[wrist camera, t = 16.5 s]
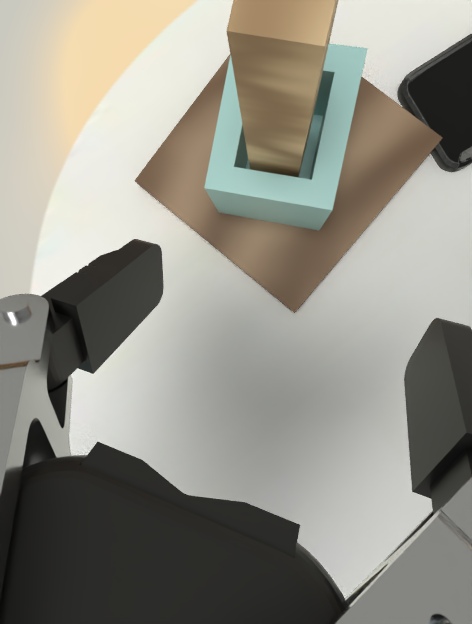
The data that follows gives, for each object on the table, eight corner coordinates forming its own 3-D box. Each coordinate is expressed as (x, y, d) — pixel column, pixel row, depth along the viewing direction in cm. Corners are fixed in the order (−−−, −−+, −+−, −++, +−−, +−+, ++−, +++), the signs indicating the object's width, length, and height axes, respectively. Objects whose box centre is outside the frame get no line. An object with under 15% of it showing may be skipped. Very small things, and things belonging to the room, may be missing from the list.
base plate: (435, 144, 25) (442, 137, 24) (293, 312, 26) (294, 312, 25) (267, 16, 26) (266, 5, 25) (139, 185, 27) (134, 180, 26)
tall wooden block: (309, 132, 24) (362, -113, 10) (294, 195, 24) (324, 46, 10) (267, 124, 24) (260, -123, 10) (253, 187, 24) (226, 30, 10)
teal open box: (346, 105, 24) (367, 48, 19) (319, 230, 25) (332, 210, 19) (243, 90, 25) (234, 31, 20) (218, 212, 25) (204, 187, 20)
